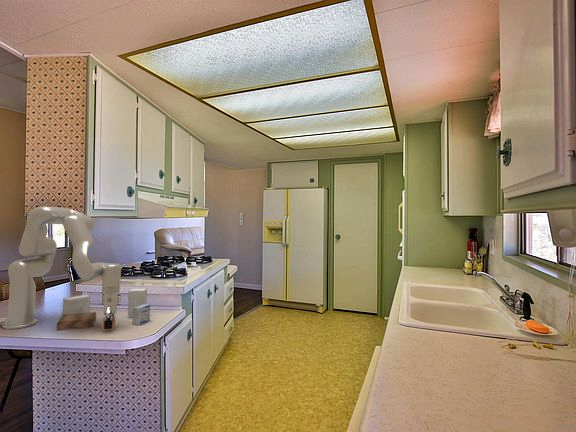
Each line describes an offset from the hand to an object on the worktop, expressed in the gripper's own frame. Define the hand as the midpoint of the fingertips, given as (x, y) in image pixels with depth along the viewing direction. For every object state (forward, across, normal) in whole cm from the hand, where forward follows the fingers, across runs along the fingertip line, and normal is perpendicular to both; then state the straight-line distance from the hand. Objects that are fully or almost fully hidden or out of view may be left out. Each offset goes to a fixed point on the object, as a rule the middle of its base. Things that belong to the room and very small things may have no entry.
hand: (108, 325), depth 140 cm
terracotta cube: (+2, 0, 0) cm, 2 cm away
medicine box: (+2, +4, -14) cm, 15 cm away
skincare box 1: (+2, +26, +17) cm, 31 cm away
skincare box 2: (+2, +16, -12) cm, 20 cm away
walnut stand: (+1, +11, +14) cm, 18 cm away
